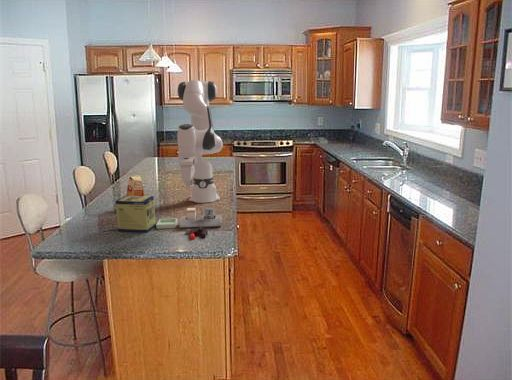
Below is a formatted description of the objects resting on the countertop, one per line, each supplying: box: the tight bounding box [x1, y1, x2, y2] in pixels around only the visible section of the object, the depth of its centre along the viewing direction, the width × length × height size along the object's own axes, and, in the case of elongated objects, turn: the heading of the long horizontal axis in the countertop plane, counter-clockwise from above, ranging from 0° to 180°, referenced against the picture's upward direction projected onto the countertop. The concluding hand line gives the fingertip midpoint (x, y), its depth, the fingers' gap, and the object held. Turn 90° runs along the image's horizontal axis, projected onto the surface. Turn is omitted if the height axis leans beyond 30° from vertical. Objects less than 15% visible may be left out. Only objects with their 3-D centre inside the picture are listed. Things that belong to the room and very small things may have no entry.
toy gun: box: [184, 224, 209, 241], centre depth 202 cm, size 10×12×5 cm
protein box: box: [115, 195, 157, 234], centre depth 213 cm, size 10×16×16 cm
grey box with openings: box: [178, 206, 222, 229], centre depth 214 cm, size 14×20×8 cm
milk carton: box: [126, 174, 146, 196], centre depth 251 cm, size 9×9×20 cm
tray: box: [155, 217, 179, 230], centre depth 219 cm, size 10×9×2 cm
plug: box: [186, 207, 197, 220], centre depth 217 cm, size 4×4×8 cm
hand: (189, 186), depth 213 cm, fingers open, 8 cm apart
